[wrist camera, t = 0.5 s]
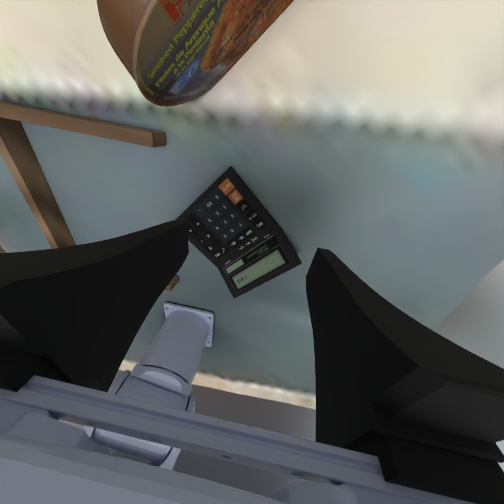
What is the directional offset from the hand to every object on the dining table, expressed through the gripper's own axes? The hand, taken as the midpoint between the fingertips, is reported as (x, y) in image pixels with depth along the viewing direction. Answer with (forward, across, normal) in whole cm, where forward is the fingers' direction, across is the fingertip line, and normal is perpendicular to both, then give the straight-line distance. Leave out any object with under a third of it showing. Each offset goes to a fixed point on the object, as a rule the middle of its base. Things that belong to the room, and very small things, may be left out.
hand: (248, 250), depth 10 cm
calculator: (+10, +2, +5) cm, 12 cm away
